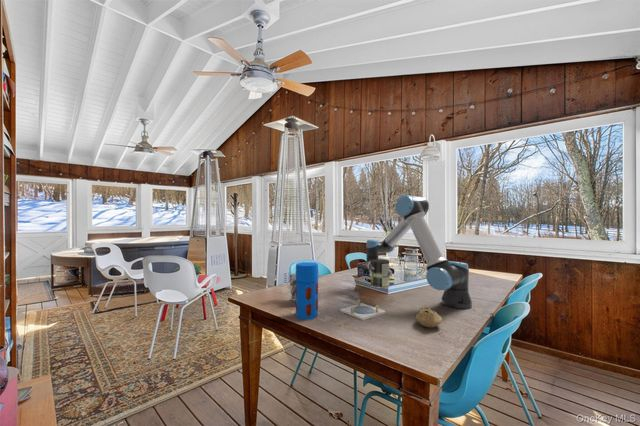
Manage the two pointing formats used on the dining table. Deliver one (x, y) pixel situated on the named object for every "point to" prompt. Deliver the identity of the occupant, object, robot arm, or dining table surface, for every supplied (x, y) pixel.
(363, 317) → the pin jig
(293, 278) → the robotic toy
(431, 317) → the oil lamp
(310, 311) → the thermos
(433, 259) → the robot arm
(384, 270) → the coffee can
